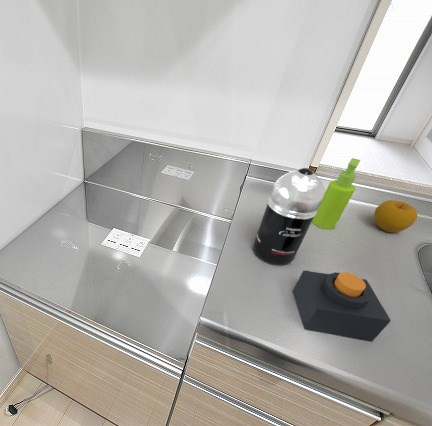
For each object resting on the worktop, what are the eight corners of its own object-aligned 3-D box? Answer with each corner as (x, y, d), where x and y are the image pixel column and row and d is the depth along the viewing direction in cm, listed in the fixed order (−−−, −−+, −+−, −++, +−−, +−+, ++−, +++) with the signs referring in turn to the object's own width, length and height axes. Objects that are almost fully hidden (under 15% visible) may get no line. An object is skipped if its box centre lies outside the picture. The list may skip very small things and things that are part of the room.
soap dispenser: (337, 221, 88) (370, 160, 76) (332, 232, 84) (366, 169, 72) (315, 213, 91) (344, 154, 80) (309, 223, 87) (338, 162, 76)
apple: (362, 227, 85) (377, 202, 80) (373, 216, 90) (388, 192, 84) (398, 242, 80) (417, 216, 75) (408, 230, 84) (427, 205, 79)
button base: (351, 300, 65) (371, 272, 60) (372, 342, 57) (397, 314, 52) (292, 291, 67) (306, 263, 62) (304, 329, 60) (322, 301, 54)
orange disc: (355, 281, 59) (359, 274, 57) (364, 299, 55) (370, 291, 54) (330, 277, 59) (334, 270, 58) (338, 294, 56) (343, 287, 55)
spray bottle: (247, 239, 82) (274, 157, 68) (286, 242, 81) (322, 159, 66) (256, 265, 74) (289, 179, 59) (300, 269, 73) (344, 182, 58)
